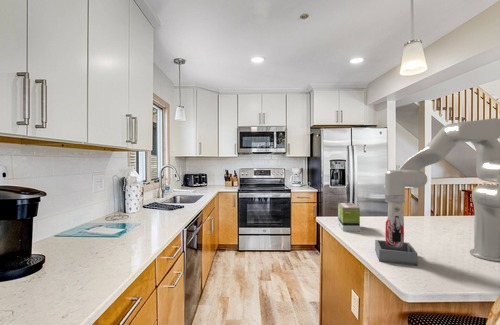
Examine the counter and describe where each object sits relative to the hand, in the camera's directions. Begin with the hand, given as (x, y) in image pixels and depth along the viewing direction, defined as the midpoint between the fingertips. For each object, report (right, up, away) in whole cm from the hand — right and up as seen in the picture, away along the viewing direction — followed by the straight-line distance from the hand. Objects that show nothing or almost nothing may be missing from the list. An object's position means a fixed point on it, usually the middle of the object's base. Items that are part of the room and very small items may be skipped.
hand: (394, 238), depth 114 cm
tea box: (-2, -8, +47) cm, 48 cm away
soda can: (0, -3, 0) cm, 3 cm away
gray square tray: (0, -8, 0) cm, 8 cm away
